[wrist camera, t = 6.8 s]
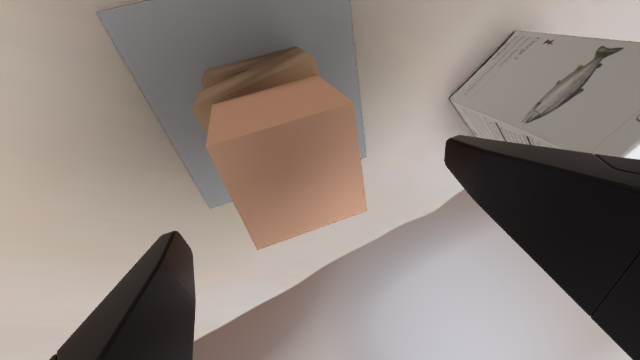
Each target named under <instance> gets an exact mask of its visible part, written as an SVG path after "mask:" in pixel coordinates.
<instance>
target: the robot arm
mask: <svg viewBox="0 0 640 360" xmlns="http://www.w3.org/2000/svg"><path fill="white" fill-rule="evenodd" d="M444 161H445V164H446V166H447V168H448V169H449V170H450V171H451V173H452V174H453V175H454V176H455V178H456V179H457V180H458V181H459V183H460V184H461V185H462V186H463V188H464V189H465V190H466V191H467V193H468V194H469V195H470V196H471V197H472V198H473V199H474V200H475V202H476V203H477V204H478V205H479V206H480V207H481V208H482V209H483V210H484V211H485V212H486V213H487V214H488V215H489V216H490V217H491V218H492V219H493V220H494V221H495V222H496V223H497V224H498V225H499V226H500V227H501V228H502V229H503V230H504V231H505V232H506V233H507V234H508V235H509V236H510V237H511V238H512V239H513V240H514V241H515V242H516V243H517V244H518V245H519V246H520V247H521V248H522V249H523V250H524V251H525V252H526V253H527V254H528V255H529V256H530V257H531V258H532V259H533V260H534V261H535V262H536V263H537V264H538V265H539V266H540V267H541V268H542V269H543V270H544V271H545V272H546V273H547V274H548V275H549V276H550V277H551V278H552V279H553V280H554V281H555V282H556V283H557V284H558V285H559V286H560V287H561V288H562V289H563V290H564V291H565V292H566V293H567V294H568V295H569V296H570V297H571V298H572V299H573V300H574V301H575V302H576V303H577V304H578V305H579V306H580V307H581V308H582V309H583V310H584V311H585V312H586V313H587V314H588V315H589V316H591V318H592V319H593V320H594V321H595V322H596V323H597V324H598V325H599V326H600V327H601V328H602V329H603V330H604V331H605V332H606V333H607V334H608V335H609V336H610V337H611V338H612V339H613V340H614V341H615V342H616V343H617V344H618V345H619V346H620V347H621V348H622V349H623V350H624V351H625V352H626V353H627V354H628V355H629V356H630V357H631V358H632V359H633V360H640V160H639V159H631V158H623V157H615V156H608V155H601V154H592V153H586V152H579V151H571V150H564V149H557V148H550V147H542V146H535V145H528V144H521V143H513V142H506V141H499V140H492V139H484V138H477V137H470V136H463V135H458V136H455V137H452V138H449V139H448V140H447V141H446V146H445V158H444ZM195 302H196V300H195V282H194V267H193V254H192V251H191V248H190V247H189V246H188V244H187V243H186V241H185V240H184V239H183V237H182V236H181V234H180V233H179V232H177V231H172V232H169V233H166V234H163V235H162V236H160V237H159V239H158V240H157V241H156V242H155V243H154V244H153V245H152V246H151V247H150V249H149V250H148V251H147V252H146V253H145V254H144V255H143V256H142V257H141V259H140V260H139V261H138V262H137V263H136V264H135V265H134V266H133V267H132V269H131V270H130V271H129V272H128V273H127V274H126V275H125V276H124V277H123V279H122V280H121V281H120V282H119V283H118V284H117V285H116V286H115V287H114V289H113V290H112V291H111V292H110V293H109V294H108V295H107V296H106V297H105V299H104V300H103V301H102V302H101V303H100V304H99V305H98V306H97V307H96V309H95V310H94V311H93V312H92V313H91V314H90V315H89V316H88V317H87V319H86V320H85V321H84V322H83V323H82V324H81V325H80V326H79V327H78V329H77V330H76V331H75V332H74V333H73V334H72V335H71V336H70V337H69V339H68V340H67V341H66V342H65V343H64V344H63V345H62V346H61V347H60V349H59V350H58V351H57V354H55V355H53V356H52V357H51V358H50V360H192V358H193V357H192V356H193V340H194V323H195Z"/></svg>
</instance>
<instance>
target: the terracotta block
mask: <svg viewBox="0 0 640 360" xmlns="http://www.w3.org/2000/svg"><path fill="white" fill-rule="evenodd" d="M206 149H207V151H208V153H209V155H210V157H211V159H212V160H213V162H214V164H215V166H216V168H217V170H218V172H219V174H220V176H221V178H222V180H223V182H224V184H225V186H226V188H227V190H228V192H229V194H230V196H231V198H232V200H233V202H234V204H235V206H236V208H237V210H238V212H239V214H240V216H241V218H242V220H243V222H244V224H245V226H246V228H247V230H248V232H249V234H250V236H251V238H252V240H253V242H254V244H255V246H256V248H257V250H259V249H262V248H264V247H267V246H270V245H273V244H276V243H278V242H281V241H284V240H287V239H290V238H292V237H295V236H298V235H301V234H304V233H306V232H309V231H312V230H315V229H317V228H320V227H323V226H326V225H329V224H331V223H334V222H337V221H340V220H343V219H345V218H348V217H351V216H354V215H357V214H359V213H362V212H365V211H367V207H366V199H365V191H364V183H363V175H362V167H361V159H360V151H359V143H358V135H357V127H356V119H355V111H354V103H353V102H352V101H351V100H350V99H348V98H347V97H346V96H344V95H343V94H342V93H340V92H339V91H338V90H337V89H335V88H334V87H333V86H331V85H330V84H329V83H327V82H326V81H325V80H323V79H322V78H321V77H319V76H318V75H315V76H312V77H308V78H305V79H301V80H297V81H294V82H290V83H287V84H283V85H280V86H276V87H273V88H269V89H266V90H262V91H259V92H255V93H252V94H248V95H245V96H241V97H238V98H234V99H231V100H227V101H224V102H220V103H217V104H213V105H212V108H211V114H210V121H209V128H208V135H207V141H206Z"/></svg>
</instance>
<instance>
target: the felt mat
mask: <svg viewBox="0 0 640 360" xmlns="http://www.w3.org/2000/svg"><path fill="white" fill-rule="evenodd" d="M96 14H97V15H98V17H99V19H100V21H101V22H102V24H103V26H104V27H105V29H106V31H107V33H108V34H109V36H110V38H111V39H112V41H113V43H114V45H115V46H116V48H117V50H118V51H119V53H120V55H121V57H122V58H123V60H124V62H125V64H126V65H127V67H128V69H129V70H130V72H131V74H132V76H133V77H134V79H135V81H136V82H137V84H138V86H139V88H140V89H141V91H142V93H143V94H144V96H145V98H146V100H147V101H148V103H149V105H150V107H151V108H152V110H153V112H154V113H155V115H156V117H157V119H158V120H159V122H160V124H161V125H162V127H163V129H164V131H165V132H166V134H167V136H168V137H169V139H170V141H171V143H172V144H173V146H174V148H175V150H176V151H177V153H178V155H179V156H180V158H181V160H182V162H183V163H184V165H185V167H186V168H187V170H188V172H189V174H190V175H191V177H192V179H193V180H194V182H195V184H196V186H197V187H198V189H199V191H200V193H201V194H202V196H203V198H204V199H205V201H206V203H207V205H208V206H209V208H213V207H216V206H219V205H222V204H225V203H228V202H231V201H233V200H232V198H231V196H230V194H229V192H228V190H227V188H226V186H225V184H224V182H223V180H222V178H221V176H220V174H219V172H218V170H217V168H216V166H215V164H214V162H213V160H212V159H211V157H210V155H209V153H208V151H207V149H206V141H207V133H206V132H205V130H204V129H203V127H202V126H201V124H200V123H199V121H198V120H197V118H196V117H195V115H194V114H193V112H192V111H191V110H192V108H193V105H194V102H195V99H196V96H197V93H198V92H200V91H202V90H204V88H203V85H202V83H201V81H202V78H203V75H204V72H205V70H209V69H213V68H216V67H220V66H224V65H228V64H231V63H235V62H239V61H242V60H246V59H250V58H254V57H257V56H261V55H265V54H268V53H272V52H276V51H280V50H283V49H287V48H291V47H295V46H297V47H299V48H301V49H302V50H304V51H306V52H308V53H309V54H311V55H313V56H314V58H315V61H316V64H317V67H318V70H319V73H320V76H321V78H322V79H323V80H325V81H326V82H327V83H329V84H330V85H331V86H333V87H334V88H335V89H337V90H338V91H339V92H340V93H342V94H343V95H344V96H346V97H347V98H348V99H350V100H351V101H352V102H353V103H354V111H355V119H356V127H357V135H358V143H359V151H360V159H361V158H364V157H367V156H366V147H365V138H364V129H363V120H362V111H361V102H360V93H359V84H358V75H357V66H356V57H355V48H354V39H353V30H352V21H351V12H350V3H349V0H148V1H144V2H139V3H135V4H131V5H126V6H122V7H118V8H113V9H109V10H105V11H100V12H96Z"/></svg>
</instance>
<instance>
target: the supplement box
mask: <svg viewBox="0 0 640 360" xmlns="http://www.w3.org/2000/svg"><path fill="white" fill-rule="evenodd" d="M450 101H451V102H452V103H453V105H454V106H455V108H456V109H457V111H458V112H459V114H460V115H461V116H462V118H463V119H464V121H465V122H466V124H467V125H468V127H469V128H470V129H471V131H472V132H473V134H474V135H475V137H477V138H484V139H492V140H499V141H506V142H513V143H521V144H528V145H535V146H542V147H550V148H557V149H564V150H571V151H579V152H586V153H592V154H601V155H608V156H615V157H623V158H631V159H639V160H640V42H632V41H620V40H610V39H599V38H589V37H578V36H568V35H557V34H547V33H536V32H526V31H516V32H515V33H514V34H513V35H512V36H511V37H510V38H509V39H508V41H507V42H506V43H505V44H504V45H503V46H502V47H501V48H500V49H499V50H498V51H497V52H496V53H495V54H494V55H493V56H492V57H491V58H490V59H489V60H488V61H487V62H486V63H485V64H484V65H483V66H482V67H481V68H480V69H479V70H478V71H477V72H476V73H475V74H474V75H473V76H472V77H471V78H470V79H469V80H468V81H467V82H466V83H465V84H464V85H463V86H462V87H461V88H460V89H459V90H458V91H457V92H456V93H455V94H454V95H452V96H451V97H450Z"/></svg>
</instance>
